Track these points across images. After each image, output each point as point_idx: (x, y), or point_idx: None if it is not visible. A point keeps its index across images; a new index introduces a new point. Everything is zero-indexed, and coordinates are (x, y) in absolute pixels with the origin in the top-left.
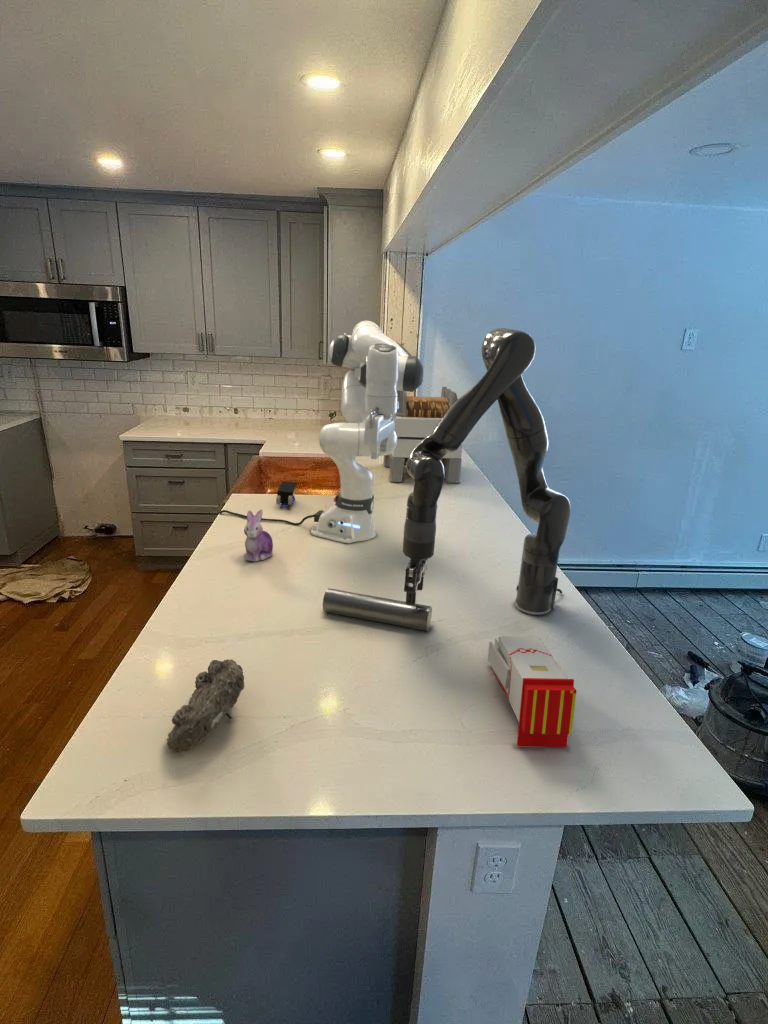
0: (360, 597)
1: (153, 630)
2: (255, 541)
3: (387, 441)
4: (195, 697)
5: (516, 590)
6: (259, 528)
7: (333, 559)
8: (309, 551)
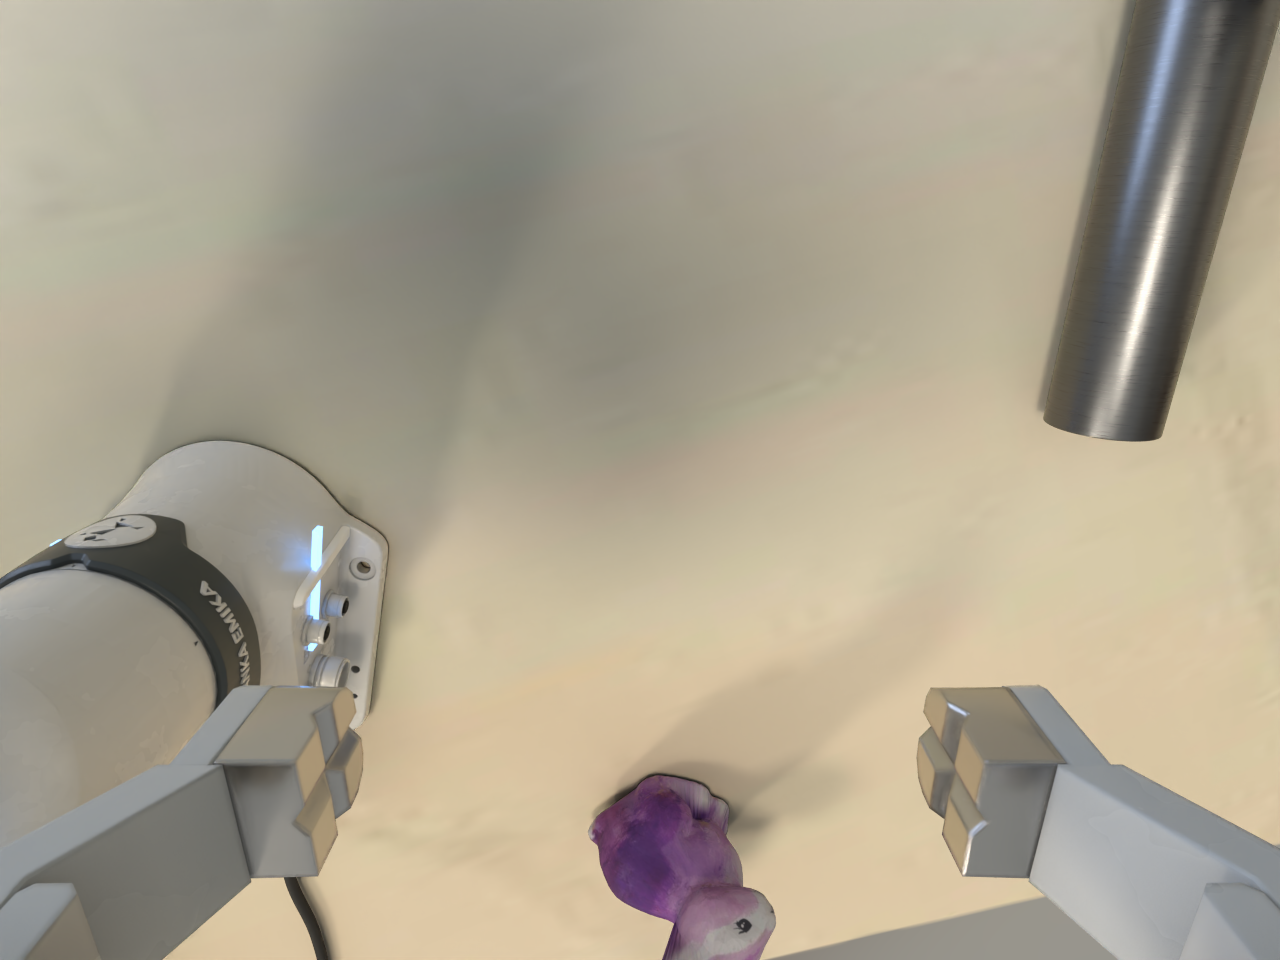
0: (1195, 265)
1: None
2: (733, 874)
3: (97, 840)
4: None
5: None
6: (728, 917)
7: (589, 543)
8: (546, 664)
